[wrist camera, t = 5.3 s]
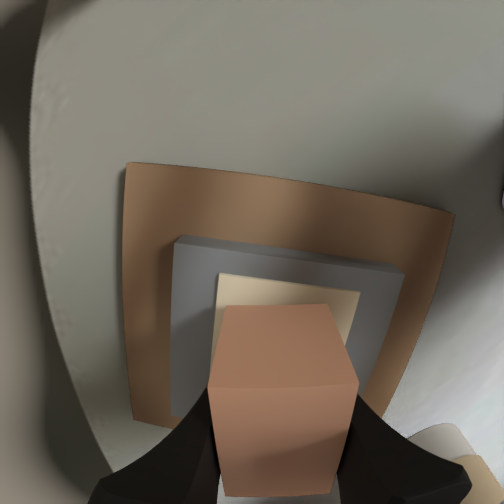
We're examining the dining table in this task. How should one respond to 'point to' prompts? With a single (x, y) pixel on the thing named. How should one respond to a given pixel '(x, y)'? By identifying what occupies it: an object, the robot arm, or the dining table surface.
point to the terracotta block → (280, 399)
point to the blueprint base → (270, 224)
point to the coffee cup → (461, 461)
